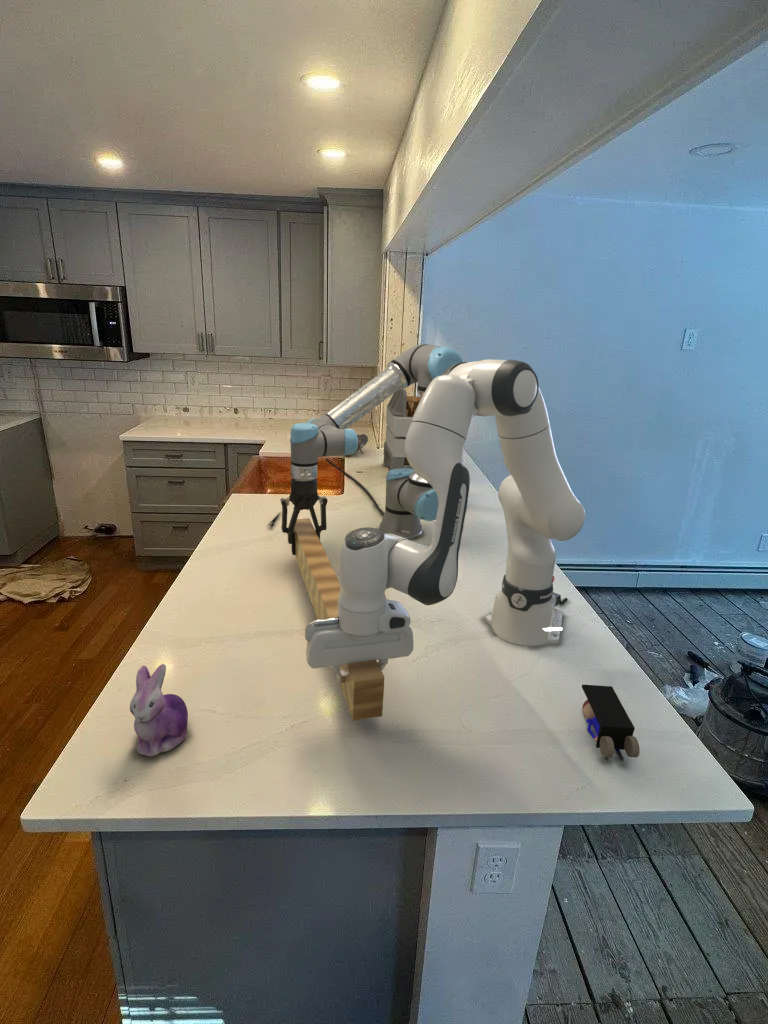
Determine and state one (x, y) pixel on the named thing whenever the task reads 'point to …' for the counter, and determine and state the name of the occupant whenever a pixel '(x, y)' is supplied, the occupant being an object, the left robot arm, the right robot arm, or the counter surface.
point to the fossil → (360, 443)
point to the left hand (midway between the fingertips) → (304, 552)
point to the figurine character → (609, 722)
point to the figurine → (157, 714)
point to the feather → (273, 520)
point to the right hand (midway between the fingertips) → (359, 678)
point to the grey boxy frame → (398, 428)
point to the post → (323, 591)
